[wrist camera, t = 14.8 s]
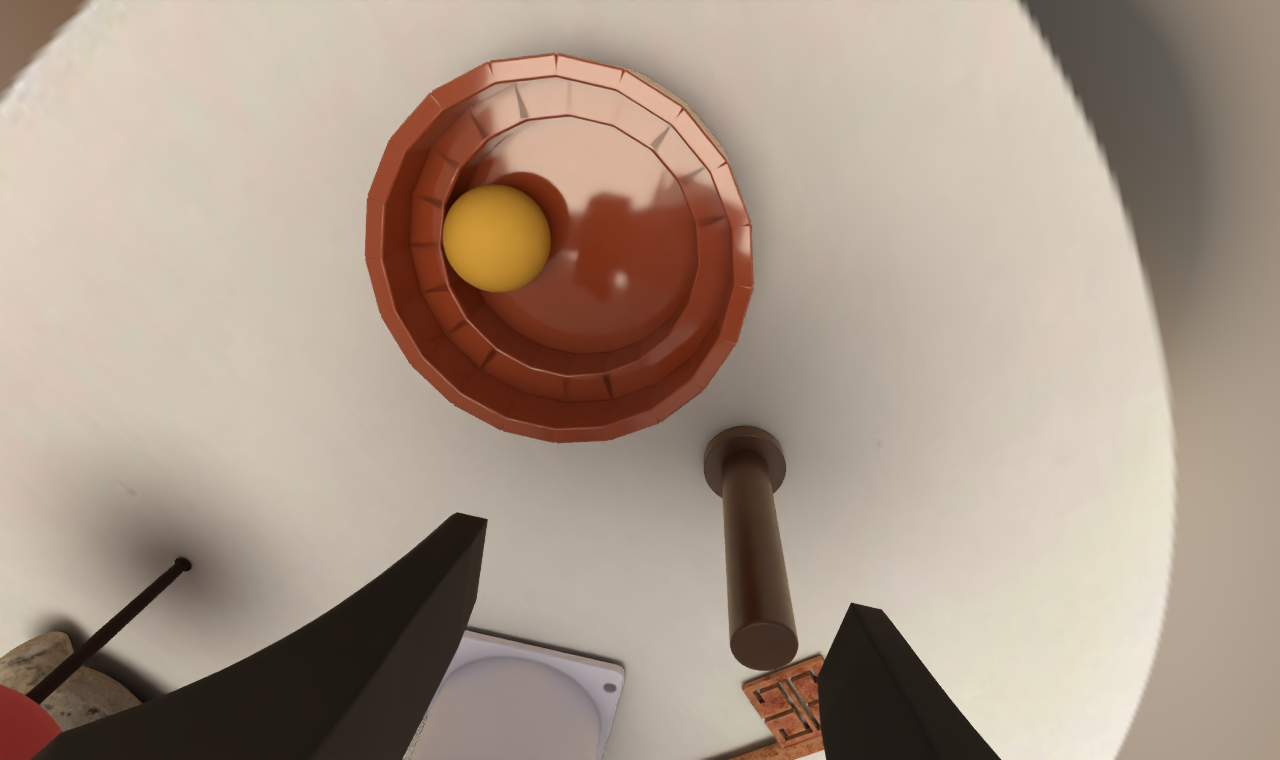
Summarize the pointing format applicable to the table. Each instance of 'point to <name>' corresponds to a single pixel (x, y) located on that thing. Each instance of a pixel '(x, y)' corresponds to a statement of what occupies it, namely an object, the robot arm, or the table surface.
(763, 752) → the key
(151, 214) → the table surface
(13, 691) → the lollipop
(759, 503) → the stick
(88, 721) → the stone
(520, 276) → the ball
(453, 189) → the bowl
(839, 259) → the table surface
